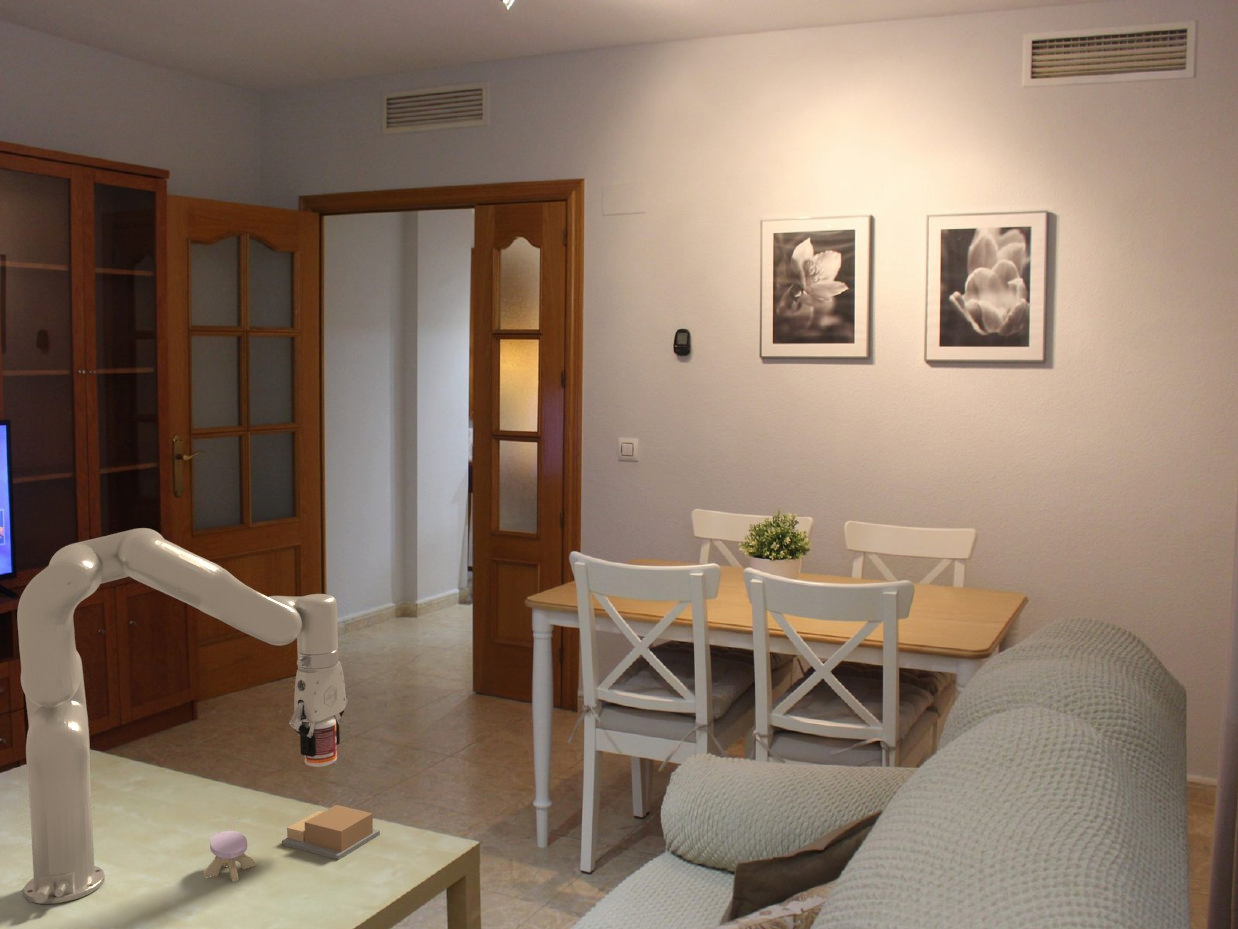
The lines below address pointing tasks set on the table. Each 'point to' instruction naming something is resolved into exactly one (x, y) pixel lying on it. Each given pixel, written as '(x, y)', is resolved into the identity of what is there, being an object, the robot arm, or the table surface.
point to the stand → (332, 832)
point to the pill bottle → (324, 743)
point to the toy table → (228, 853)
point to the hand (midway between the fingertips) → (320, 748)
